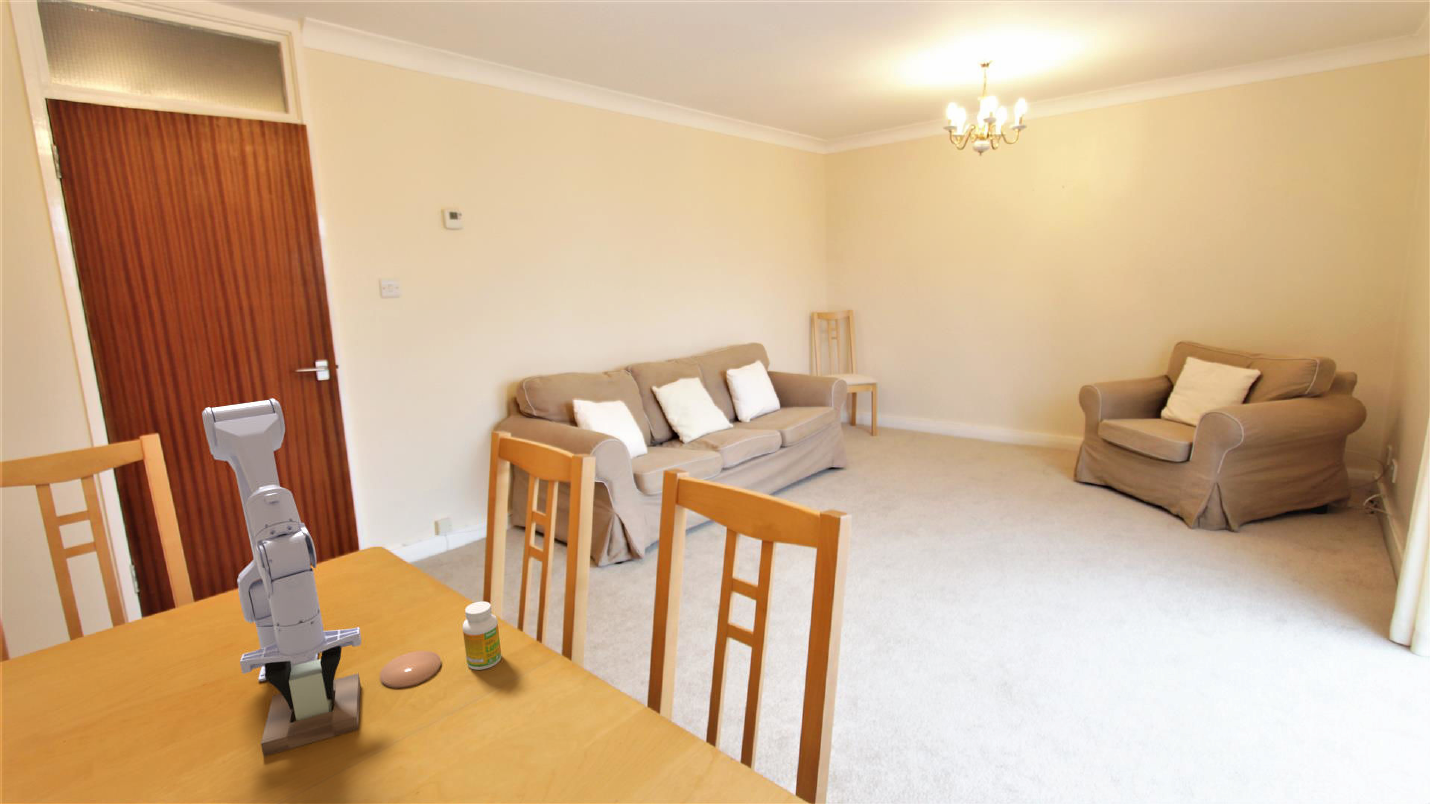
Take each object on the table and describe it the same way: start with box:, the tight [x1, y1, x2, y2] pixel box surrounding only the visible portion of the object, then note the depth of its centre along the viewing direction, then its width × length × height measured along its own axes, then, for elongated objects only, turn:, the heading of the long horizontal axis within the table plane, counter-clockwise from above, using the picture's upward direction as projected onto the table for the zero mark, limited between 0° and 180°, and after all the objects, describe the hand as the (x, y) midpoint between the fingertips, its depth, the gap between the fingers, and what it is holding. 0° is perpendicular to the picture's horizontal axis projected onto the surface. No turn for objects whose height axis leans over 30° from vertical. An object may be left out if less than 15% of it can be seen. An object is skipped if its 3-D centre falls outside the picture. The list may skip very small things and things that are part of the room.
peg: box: [289, 658, 333, 721], centre depth 98 cm, size 4×4×8 cm
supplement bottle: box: [462, 601, 502, 671], centre depth 110 cm, size 5×5×10 cm
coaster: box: [379, 650, 442, 689], centre depth 109 cm, size 9×9×1 cm
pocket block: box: [260, 673, 362, 757], centre depth 98 cm, size 11×11×2 cm
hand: (312, 700), depth 98 cm, fingers closed on peg, 4 cm apart
